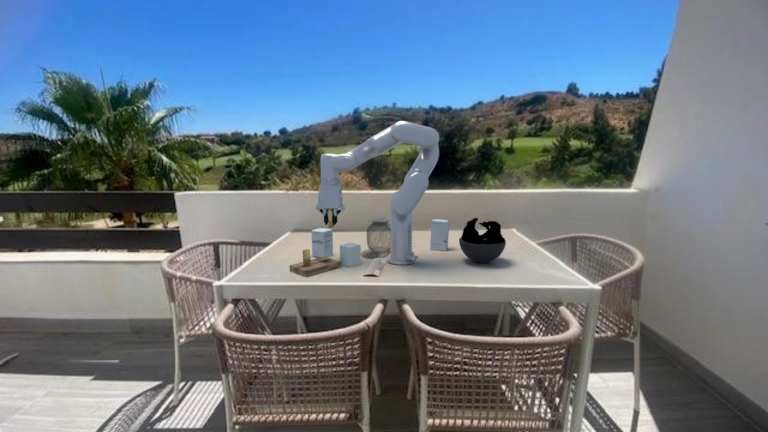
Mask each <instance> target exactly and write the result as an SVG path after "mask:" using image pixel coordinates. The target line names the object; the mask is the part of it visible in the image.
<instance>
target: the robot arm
mask: <svg viewBox="0 0 768 432" xmlns="http://www.w3.org/2000/svg"><path fill="white" fill-rule="evenodd" d="M439 141H440V134H439V132H438V131H437V130H436V129H435V128H433V127H429V126H425V125H422V124H418V123H413V122H410V121H406V120H398V121H396V122H395V123H394V124H392V125H390V126H388V127H386V128H385V129H382V130H381V131H379V132H378V133H376V134H374V135H373V136H370V137H369V138H368V139H366V141H364V142H363V143H361V144H359V145H358V146H355V147H354V148H352V149H351V150H349V151H346V152H345V153H322V154H321V156H320V185H319V187H318V188H319V189H318V195H317V204H316V206H315V210H316V211H318V212H320V213H321V215H322V216H323V223H324V225H325V226H327V209H333V210H334V216H333V225H334V226H335V225H336V224H337V223H338V215H339V214H340V213H341V212H344V211H345V210H346V207H345V206H344V205H345V204H344V201H343V200H344V199H343V191H342V186H341V185H340V184H342V183H343V181H342V179H340V178H339V174H340V173H339V171H343V172H344V171H345V172H350V171H352V170H353V169H355V168H357V167H358V166H360V165H362V164H363V163H365V162H367V161H369V160H372V159H374V158H377V157H379V156H381V155H383V154H384V153H386V152H388V151H390V150H392V149H394V148H395V147H397V146H399V145H401V144H403V143H404V144H408V145H413V146H415V147H419V153H418V156H417V157H416V159H415V161H414V162H413V164H412V166H411V167H410V169H409V170H408V171H407V172H406V175H405V177H404V179H403V183H402V184H401V186H400V189H398V190H397V191H395V192H393V194H392V195H391V198H390V200H389V201H390V202H389V203H390V204H389V209H390V256H388V257H387V258H386V261H387V263H390V264H393V265H398V266H399V265H403V266H404V265H411V264H414V263H416V262H417V261H418V259H419V256H418V255H415V252H414V251H413V211H414V210H415V208H416V207H417V205H418V203H419V202H420V201H421V200H422V198H423V196H424V195H425V193H426V191H427V189H428V187H429V177H430V175H431V173H432V172H433V170H434V168H435V167H436V165H437V162H439V161H438V160H439V157H440V148H439V147H440V146H439Z"/></svg>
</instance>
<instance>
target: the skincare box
mask: <svg viewBox="0 0 768 432" xmlns="http://www.w3.org/2000/svg"><path fill="white" fill-rule="evenodd" d="M449 233H450V219H449V220H447V219H440V218H439V219H437V218H436V219H435V218H434V219H432V220H431V225H430V243H429V244H430V246H429V247H430V248H429V250H430V251H431V250H432V251H442V250H443V252H446V251H447V250H448V249H449V238H450V237H449V235H450V234H449ZM447 248H448V249H447Z"/></svg>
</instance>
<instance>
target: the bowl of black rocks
mask: <svg viewBox="0 0 768 432" xmlns="http://www.w3.org/2000/svg"><path fill="white" fill-rule="evenodd" d="M478 221H479V218H478V217H474V218H472V219H470V220H468V221H467V222H466V225H465V226H464V228H463V229H462V230H463V231H462V235H461V237H460V238H459V239H458V244H459V247H460V249H461V251H462V253H463V254H464V255H465V256H466V257H467V258H468V259H469V260H471V261H474V262H476V263H481V264H483V263H490V262H493V261H494V260H497V258H499V257H500V256H501V255H502V253H503V251H505V250H504V249H505V248H506V245H507V241H506V238H505V237H503V235H502V230H501V229H502V225H501V224H500V223H499V222H498V221H495V220H488V221H486V220H485V221H483V222H479V223H478V224H479V225H480V226H482V227H484V228H485V229H486V230H485V232H484V233H482V234H480V233H479V231H478V230H477V229H476V223H477V222H478Z"/></svg>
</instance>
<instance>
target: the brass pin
mask: <svg viewBox="0 0 768 432" xmlns="http://www.w3.org/2000/svg"><path fill="white" fill-rule="evenodd" d="M333 216H334V210H333V209H327V225H326V226H327V229H333V228H335V225H333Z"/></svg>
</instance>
